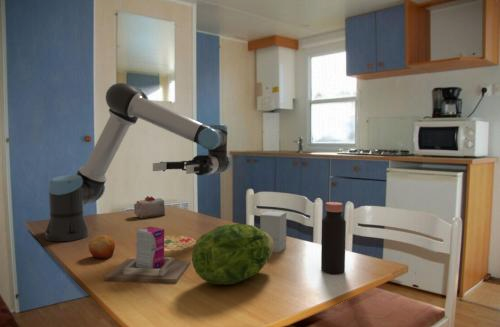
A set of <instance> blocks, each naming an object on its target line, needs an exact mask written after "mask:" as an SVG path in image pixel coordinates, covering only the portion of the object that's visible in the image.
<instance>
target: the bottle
mask: <svg viewBox="0 0 500 327" xmlns="http://www.w3.org/2000/svg"><path fill="white" fill-rule="evenodd" d="M343 209H344V204H343V203H342V202H337V201H329V202H328V201H327V202H325V213H326V215H325V216H324V217H323V218H322V219H321V250H320V251H321V253H320V254H321V256H320V260H321V262H320V269H321V271H322V272H323V273H325V274H328V273H329V275H341V273H342V274H343V273H344V272H345V270H346V235H347V233H346V231H347V230H346V227H347V221H346V219H345V218H344V217H343V216H342V214H343Z"/></svg>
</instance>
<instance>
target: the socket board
mask: <svg viewBox="0 0 500 327" xmlns="http://www.w3.org/2000/svg"><path fill="white" fill-rule="evenodd" d="M190 265H191V260H186V259H181V260H180V259H179V260H178V259H175V257H165V256H164V265H163V266H162V268H159V269H150V268H136V258H127V259H125V260H123V262H121V263H120V264H118V265H117V266H116V267H114V268H113V269H112V270H111V271H110V272H108V273H107V274H106V275H104V276H103V278H104V279H103V280H104V281H114V282H115V281H117V282H138V283H139V282H141V283H163V284H165V283H166V284H177V283H178V281H179V280H180V279H181V277H182V276H183V275H184V273H185V272H186V270H187V269H188V268H189V266H190Z"/></svg>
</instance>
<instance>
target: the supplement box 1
mask: <svg viewBox="0 0 500 327" xmlns="http://www.w3.org/2000/svg"><path fill="white" fill-rule="evenodd" d="M135 246H136V252H135V253H136V255H135V256H136V257H135V259H136V268H150V269H159V268H162V266H163V265H164V257H165V229H164V228H158V227H154V226H148V227H144V228H140V229H136V244H135Z"/></svg>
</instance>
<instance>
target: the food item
mask: <svg viewBox="0 0 500 327" xmlns="http://www.w3.org/2000/svg"><path fill="white" fill-rule="evenodd" d="M133 210H134V211H133V212H134V215H135V216H137V217H138V218H139V219H148V218H155V217H156V218H157V217H162V216H166V213H165V211H166V208H165V200H164V199H162V198H160V197H159V198H154V197H153V196H149V195H147V196H146V197H145V198H144V199H140V200H137V201H136V202H135V203H134V204H133Z"/></svg>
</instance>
